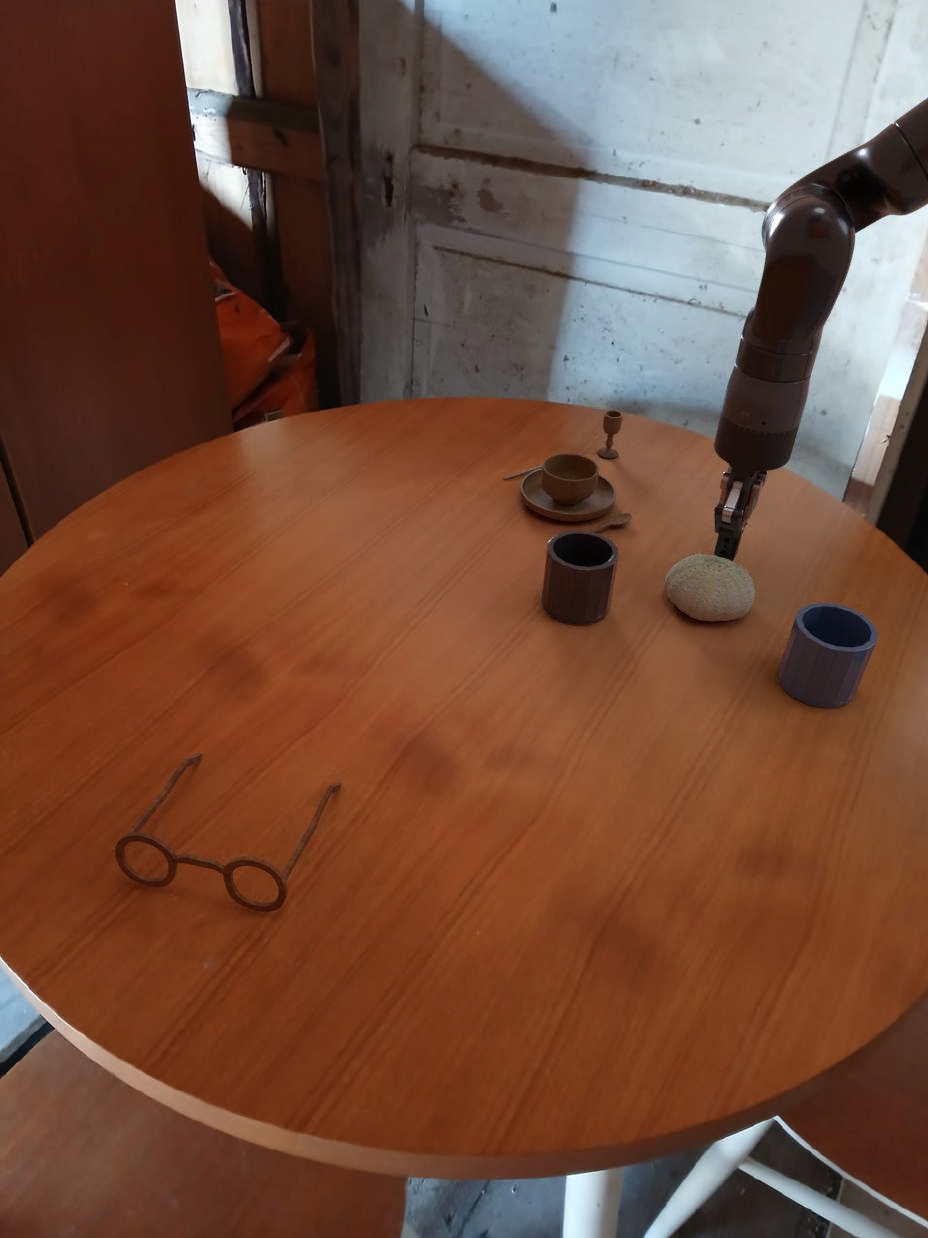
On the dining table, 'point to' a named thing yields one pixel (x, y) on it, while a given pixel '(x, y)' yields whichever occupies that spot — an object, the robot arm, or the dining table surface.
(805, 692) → the blue cup
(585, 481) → the place setting
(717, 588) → the sea urchin shell
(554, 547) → the charcoal cup
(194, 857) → the glasses
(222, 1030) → the dining table surface
